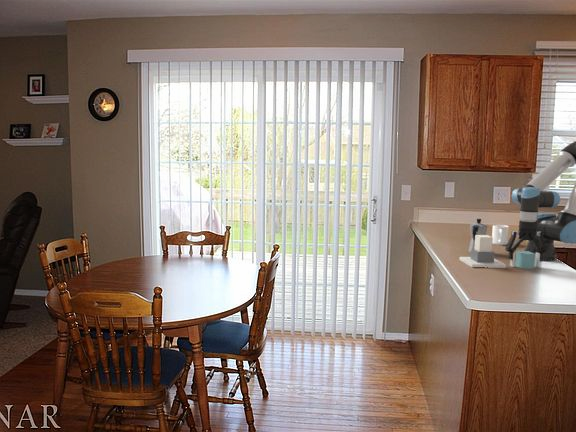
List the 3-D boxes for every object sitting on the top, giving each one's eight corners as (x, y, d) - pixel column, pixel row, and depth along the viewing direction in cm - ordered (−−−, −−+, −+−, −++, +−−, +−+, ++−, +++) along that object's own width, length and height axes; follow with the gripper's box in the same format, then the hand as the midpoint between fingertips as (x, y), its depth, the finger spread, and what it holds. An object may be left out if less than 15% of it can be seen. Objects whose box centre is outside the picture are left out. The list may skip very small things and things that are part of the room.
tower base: (491, 260, 244) (492, 247, 243) (505, 267, 228) (506, 254, 228) (459, 259, 244) (460, 246, 243) (471, 267, 228) (472, 253, 227)
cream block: (486, 249, 238) (487, 235, 238) (491, 251, 233) (492, 237, 232) (474, 249, 238) (475, 234, 237) (479, 251, 232) (480, 237, 232)
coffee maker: (471, 248, 272) (473, 216, 269) (488, 251, 267) (490, 218, 264) (463, 253, 260) (466, 219, 257) (481, 255, 255) (483, 221, 252)
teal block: (527, 265, 234) (528, 251, 233) (534, 268, 228) (535, 253, 227) (515, 265, 234) (516, 251, 233) (521, 268, 228) (522, 253, 227)
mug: (492, 245, 282) (493, 227, 281) (491, 242, 293) (492, 224, 292) (508, 246, 279) (510, 228, 278) (506, 243, 291) (508, 225, 289)
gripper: (548, 219, 232) (544, 264, 235) (499, 219, 232) (496, 264, 235) (557, 222, 225) (553, 268, 228) (507, 221, 224) (503, 268, 227)
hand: (524, 266), depth 231 cm, fingers open, 11 cm apart
